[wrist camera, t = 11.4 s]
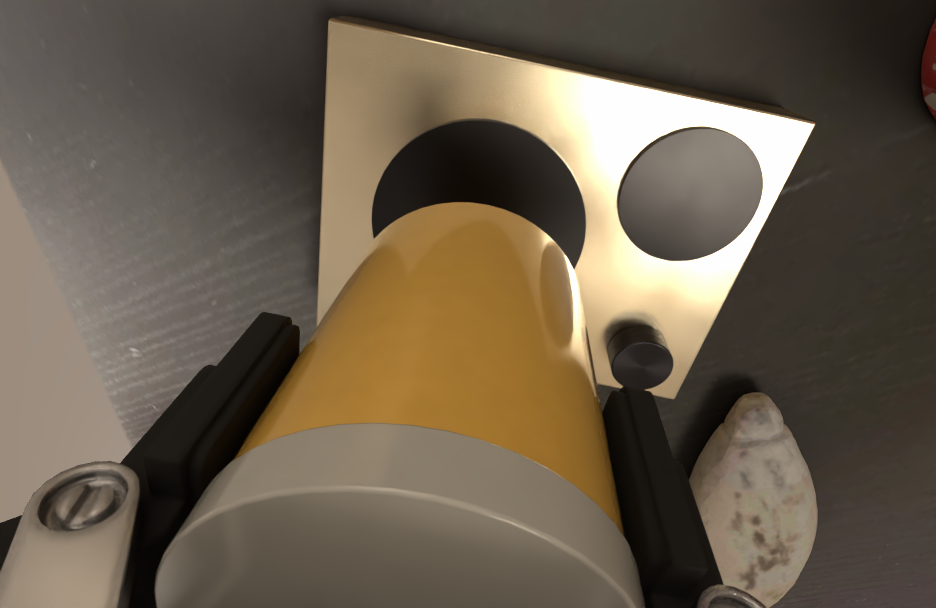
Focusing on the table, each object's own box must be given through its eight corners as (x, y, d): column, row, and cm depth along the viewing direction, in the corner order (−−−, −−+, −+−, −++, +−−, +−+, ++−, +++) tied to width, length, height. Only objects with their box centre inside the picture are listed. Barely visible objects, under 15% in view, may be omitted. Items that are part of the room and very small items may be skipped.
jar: (343, 376, 16) (179, 716, 9) (359, 172, 13) (112, 432, 5) (549, 419, 16) (569, 794, 9) (618, 227, 13) (752, 563, 5)
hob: (333, 298, 25) (305, 343, 22) (349, 15, 19) (314, 18, 15) (661, 366, 25) (681, 419, 22) (784, 107, 19) (838, 130, 16)
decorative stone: (808, 371, 25) (847, 421, 22) (790, 571, 32) (817, 629, 29) (672, 388, 26) (691, 438, 23) (684, 577, 33) (700, 633, 30)
